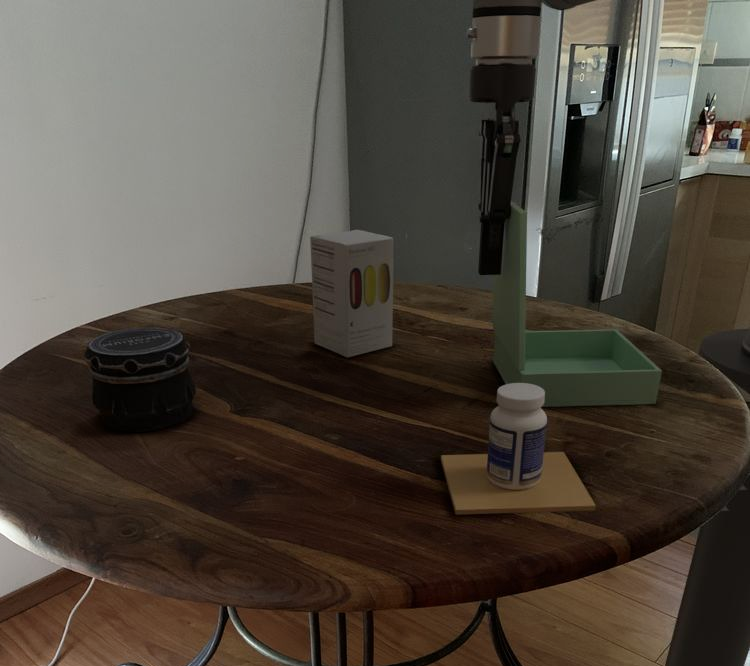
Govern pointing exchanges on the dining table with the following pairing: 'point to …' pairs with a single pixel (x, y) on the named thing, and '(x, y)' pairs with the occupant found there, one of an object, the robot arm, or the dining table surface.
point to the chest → (583, 368)
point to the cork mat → (483, 497)
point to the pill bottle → (517, 437)
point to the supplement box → (352, 291)
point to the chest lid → (512, 288)
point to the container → (141, 378)
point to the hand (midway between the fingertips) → (489, 273)
